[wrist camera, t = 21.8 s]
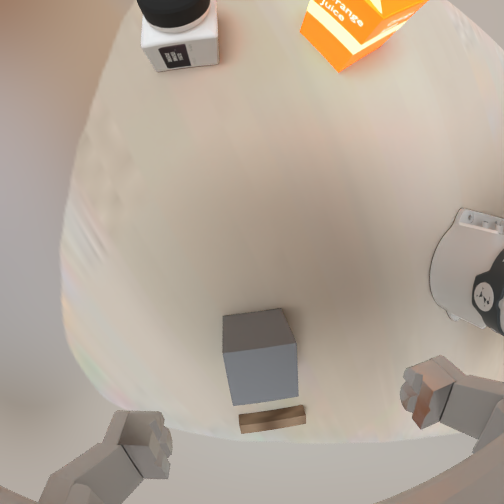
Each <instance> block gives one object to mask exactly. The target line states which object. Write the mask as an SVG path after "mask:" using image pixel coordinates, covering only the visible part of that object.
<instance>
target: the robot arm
mask: <svg viewBox="0 0 504 504" xmlns="http://www.w3.org/2000/svg"><path fill="white" fill-rule="evenodd" d="M468 217H469V218H468ZM430 287H431V292H432V295H433V298H434V300H435V301H436V302H437V304H438V305H440V306H441V307H443V308H444V309H445V310H446V311H447V313H448V315H449V317H450V319H452V320H454V321H457V320H459V319H463V320H465V321H467V322H469V323H471V324H473V325H475V326H477V327H479V328H482V329H484V328H485V327H489V328H491V329H492V330H493V331H494V332H496V333H498V334H501V335H503V336H504V219H503V218H500V217H496V216H493V215H489V214H485V213H481V212H477V211H473V210H469V209H465V208H461V209H460V210H459V212H458V214H457V216H456V218H455V221H454V224H453V225H452V227H451V228H450V229H449V230H448V231H447V232H446V234H445V235H444V236H443V238H442V239H441V241H440V243H439V244H438V247H437V249H436V251H435V254H434V257H433V260H432V264H431V270H430ZM403 378H404V379H405V383H404V384H403V385H402V387H401V391H400V399H401V403H402V405H403V407H404V408H405V410H406V411H409V412H412V413H413V414H412V419H413V420H414V422H415V423H416V424H417V425H418V427H419V428H420V429H423V428H426V427H428V426H430V425H432V424H435V423H437V422H439V421H440V423H442V424H445V425H447V426H449V427H451V428H453V429H456V430H458V431H460V432H462V433H465V434H467V435H469V436H471V437H474V438H476V439H478V441H477V443H476V445H475V446H474V448H473V455H471V456H469V457H468V458H466V459H465V460H463V461H462V462H460V463H458V464H457V465H455V466H453V467H451V468H450V469H448V470H446V471H445V472H443V473H441V474H439V475H437V476H435V477H433V478H431V479H430V480H428V481H426V482H424V483H422V484H419V485H418V486H415V487H413V488H411V489H409V490H407V491H404V492H402V493H400V494H397V495H395V496H393V497H390V498H388V499H385V500H383V501H380V502H377V503H374V504H504V382H500V381H495V380H491V379H486V378H482V377H477V376H473V375H468V376H466V375H465V374H464V373H463V372H462V371H461V370H459V369H458V368H457V367H456V366H455V365H454V364H453V363H451V362H450V361H449V360H448V359H447V358H446V357H444V356H442V355H439V356H436V357H434V358H431V359H429V360H427V361H424V362H422V363H419V364H416V365H414V366H411V367H408V368H406V370H405V372H404V376H403ZM164 420H165V419H164V417H163V415H162V413H161V412H159V411H123V410H117V411H116V412H115V413H114V415H113V418H112V420H111V422H110V425H109V427H108V430H107V432H106V435H105V437H104V440H103V442H102V443H97V444H96V445H95V446H93V447H92V448H91V449H89V450H87V451H86V452H85V453H83V454H82V455H80V456H79V457H77V458H76V459H74V460H73V461H71V462H70V463H68V464H67V465H65V466H64V467H62V468H61V469H59V470H58V471H56V472H55V473H53V474H51V475H50V477H49V479H48V481H47V484H46V486H45V488H44V490H43V493H42V495H41V497H40V499H39V502H36V501H33V500H31V499H28V498H26V497H24V496H22V495H19V494H17V493H15V492H13V491H11V490H8V489H6V488H4V487H2V486H0V504H122V503H123V501H124V500H125V499H126V498H127V497H128V496H129V495H130V494H131V493H132V492H133V491H134V490H135V489H136V487H137V486H138V485H139V484H140V483H141V482H142V481H143V478H145V479H146V478H147V479H168V476H169V469H170V463H169V461H168V459H167V458H168V457H169V456H170V455H171V454H172V448H173V447H172V437H171V434H170V431H169V429H168V428H167V427H165V426H164Z"/></svg>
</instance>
